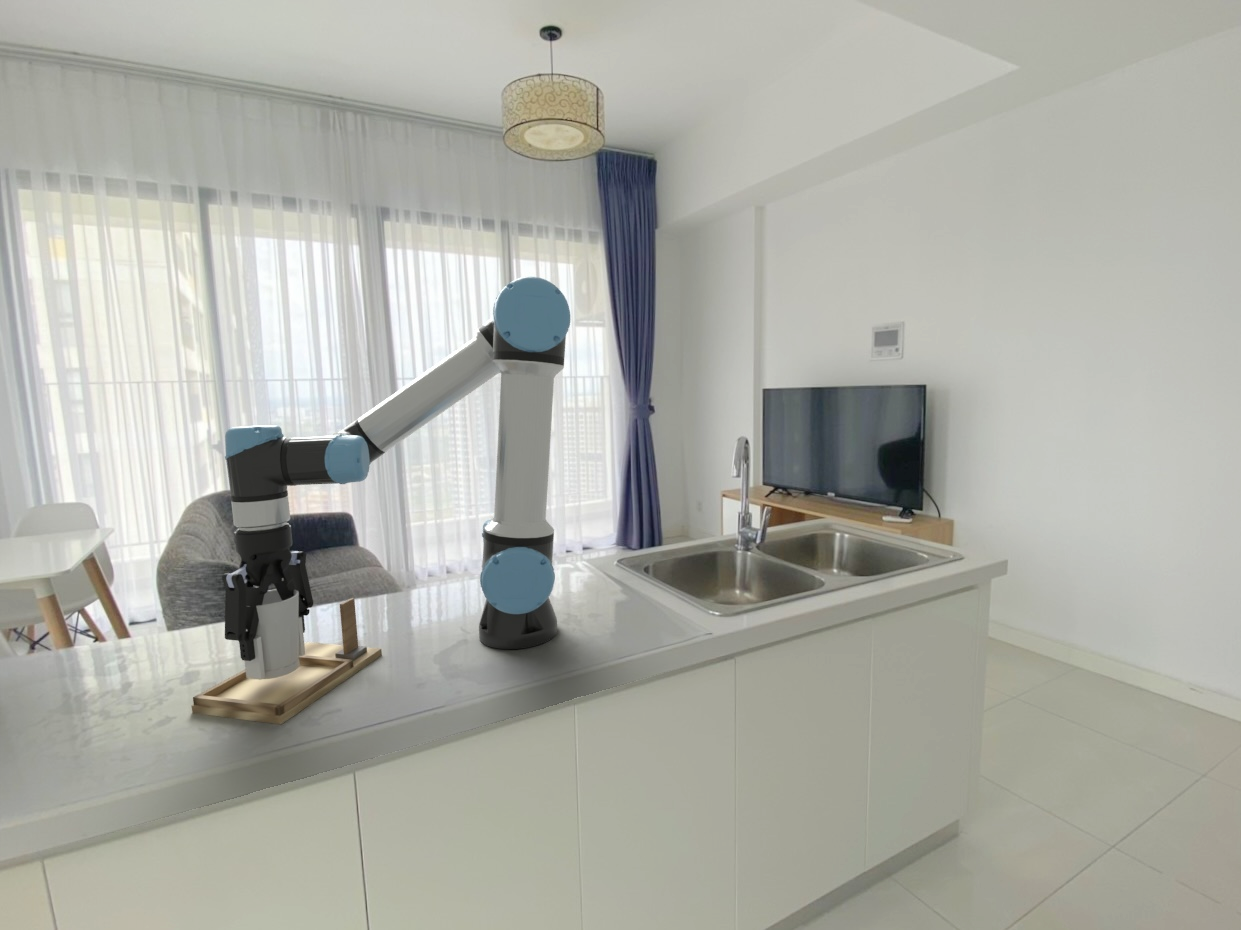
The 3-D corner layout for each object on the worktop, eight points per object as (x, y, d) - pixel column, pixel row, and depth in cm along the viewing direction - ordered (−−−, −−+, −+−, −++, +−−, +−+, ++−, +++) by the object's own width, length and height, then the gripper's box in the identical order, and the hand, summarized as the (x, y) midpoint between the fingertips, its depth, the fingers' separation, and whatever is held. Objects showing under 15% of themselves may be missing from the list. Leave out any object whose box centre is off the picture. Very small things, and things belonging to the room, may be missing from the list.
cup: (279, 683, 88) (271, 607, 87) (235, 679, 90) (226, 604, 88) (316, 660, 96) (310, 589, 94) (275, 656, 97) (268, 587, 96)
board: (381, 654, 106) (377, 595, 104) (281, 724, 84) (273, 650, 82) (307, 648, 110) (302, 590, 108) (192, 712, 87) (183, 641, 86)
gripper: (293, 511, 101) (305, 638, 103) (180, 540, 81) (198, 695, 84) (330, 512, 99) (341, 641, 102) (223, 542, 79) (241, 700, 82)
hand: (277, 665), depth 93 cm, fingers closed on cup, 7 cm apart
